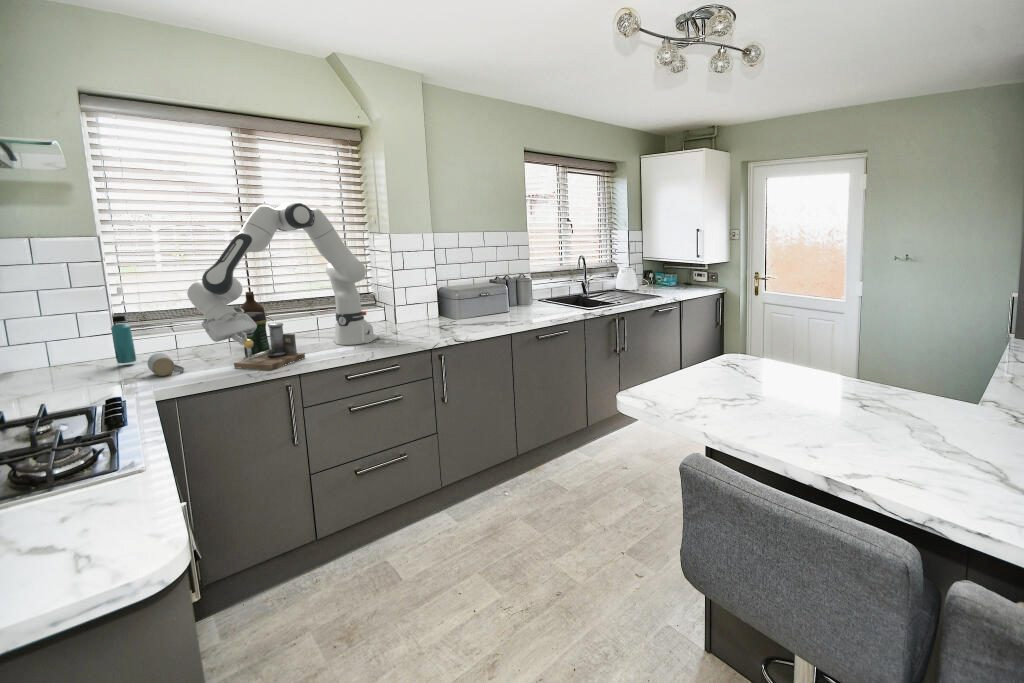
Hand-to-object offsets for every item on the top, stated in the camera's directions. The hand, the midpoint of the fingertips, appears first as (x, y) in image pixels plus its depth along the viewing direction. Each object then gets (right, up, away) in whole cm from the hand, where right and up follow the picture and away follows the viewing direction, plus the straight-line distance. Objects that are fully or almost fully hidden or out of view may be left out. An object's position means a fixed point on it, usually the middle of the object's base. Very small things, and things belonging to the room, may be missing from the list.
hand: (245, 343), depth 203 cm
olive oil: (-16, -2, +41) cm, 44 cm away
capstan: (+4, -6, +7) cm, 10 cm away
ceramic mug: (-27, -12, -4) cm, 30 cm away
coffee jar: (-7, -5, +23) cm, 25 cm away
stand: (+5, -8, +10) cm, 13 cm away
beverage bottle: (-52, -9, +10) cm, 54 cm away
